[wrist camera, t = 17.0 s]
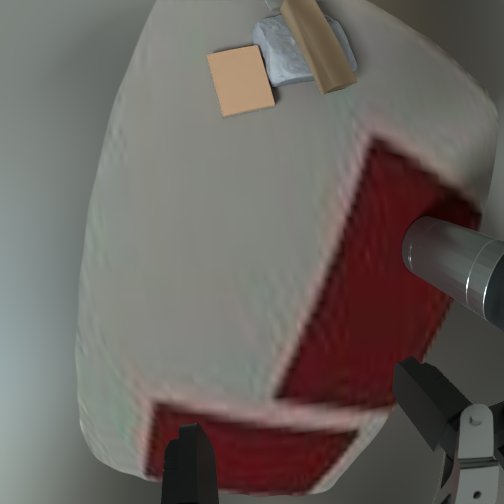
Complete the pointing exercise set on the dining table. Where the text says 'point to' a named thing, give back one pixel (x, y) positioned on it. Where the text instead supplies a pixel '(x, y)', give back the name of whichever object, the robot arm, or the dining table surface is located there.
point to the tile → (240, 81)
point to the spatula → (316, 43)
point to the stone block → (290, 51)
